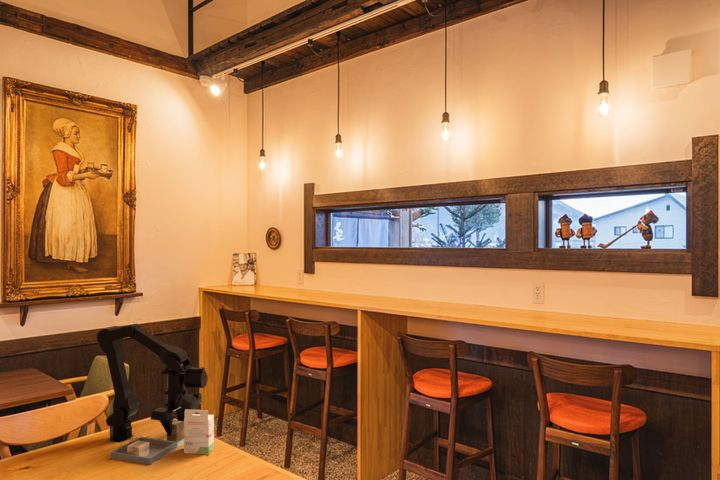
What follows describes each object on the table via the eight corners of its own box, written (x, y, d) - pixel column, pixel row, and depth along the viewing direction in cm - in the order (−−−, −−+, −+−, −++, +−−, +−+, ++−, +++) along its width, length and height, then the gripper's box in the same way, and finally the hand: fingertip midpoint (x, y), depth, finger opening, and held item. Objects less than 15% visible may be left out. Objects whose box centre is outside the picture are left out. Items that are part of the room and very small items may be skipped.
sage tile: (155, 445, 165) (155, 443, 165) (172, 435, 174) (172, 433, 174) (178, 448, 162) (178, 447, 162) (194, 438, 171) (194, 436, 171)
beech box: (127, 458, 153) (127, 446, 153) (137, 452, 158) (137, 440, 158) (139, 460, 152) (139, 447, 152) (149, 454, 156) (149, 442, 156)
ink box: (214, 449, 162) (215, 405, 162) (208, 456, 157) (208, 410, 157) (189, 448, 163) (190, 404, 163) (182, 454, 158) (183, 409, 158)
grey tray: (110, 460, 154) (110, 452, 154) (139, 443, 166) (139, 436, 166) (150, 466, 149) (150, 458, 149) (177, 449, 162) (177, 441, 162)
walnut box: (176, 443, 165) (176, 425, 165) (166, 441, 167) (166, 423, 167) (184, 438, 169) (184, 421, 169) (174, 437, 170) (174, 419, 170)
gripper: (178, 397, 157) (178, 445, 157) (211, 381, 175) (211, 424, 175) (149, 394, 160) (149, 441, 160) (185, 378, 178) (184, 421, 178)
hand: (175, 431), depth 168 cm, fingers open, 6 cm apart
